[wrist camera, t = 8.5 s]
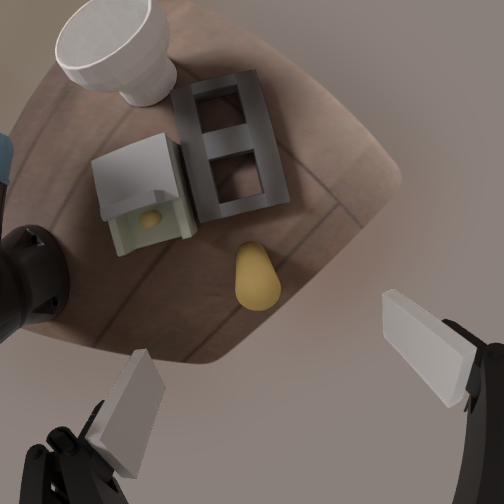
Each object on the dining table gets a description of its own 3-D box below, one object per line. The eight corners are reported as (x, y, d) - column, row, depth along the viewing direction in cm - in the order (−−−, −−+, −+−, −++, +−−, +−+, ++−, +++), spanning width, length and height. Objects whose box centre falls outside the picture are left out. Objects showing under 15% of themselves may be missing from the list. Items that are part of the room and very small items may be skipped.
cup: (203, 86, 28) (180, 19, 14) (131, 133, 29) (65, 100, 14) (166, 36, 26) (134, -30, 11) (102, 79, 27) (42, 35, 12)
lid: (107, 220, 27) (90, 224, 23) (94, 161, 25) (76, 158, 21) (180, 197, 27) (171, 197, 23) (166, 133, 25) (155, 125, 21)
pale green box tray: (132, 249, 32) (118, 257, 28) (111, 166, 30) (95, 163, 25) (197, 231, 32) (191, 236, 28) (176, 143, 30) (167, 136, 25)
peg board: (203, 220, 32) (200, 223, 29) (175, 98, 28) (169, 90, 25) (285, 201, 32) (290, 201, 29) (254, 79, 28) (255, 69, 25)
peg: (240, 273, 33) (241, 315, 22) (233, 245, 33) (230, 274, 21) (269, 266, 33) (284, 304, 22) (262, 238, 33) (275, 263, 21)
